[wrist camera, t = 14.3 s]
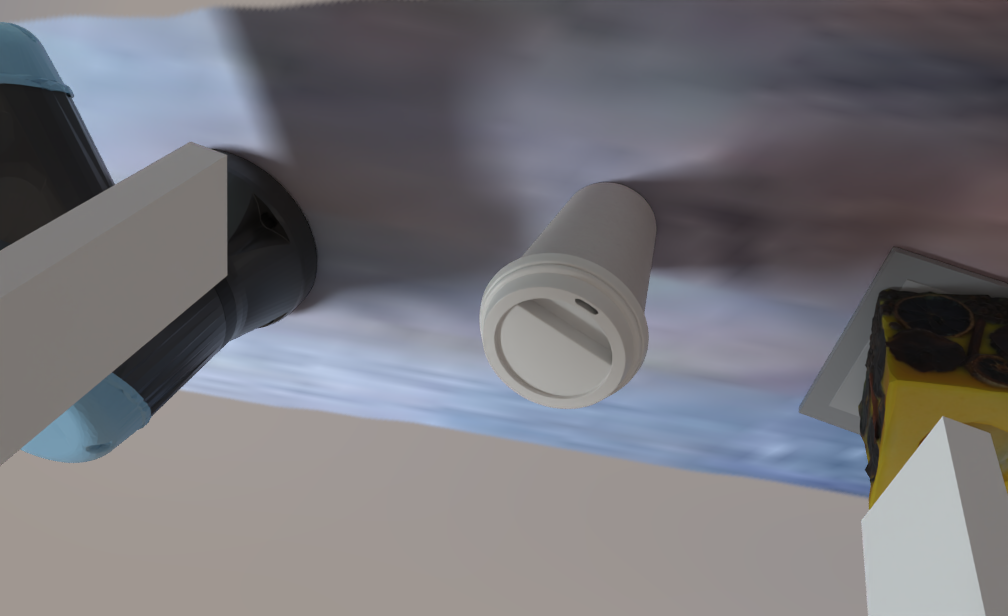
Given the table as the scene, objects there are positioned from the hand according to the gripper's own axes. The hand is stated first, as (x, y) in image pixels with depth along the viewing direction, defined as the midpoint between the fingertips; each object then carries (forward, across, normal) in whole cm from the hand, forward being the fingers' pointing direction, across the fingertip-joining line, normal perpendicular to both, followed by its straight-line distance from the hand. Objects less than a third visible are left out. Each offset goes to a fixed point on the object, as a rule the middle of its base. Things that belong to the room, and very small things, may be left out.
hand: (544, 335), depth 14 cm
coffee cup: (+37, -1, -17) cm, 41 cm away
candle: (+36, +22, -18) cm, 46 cm away
